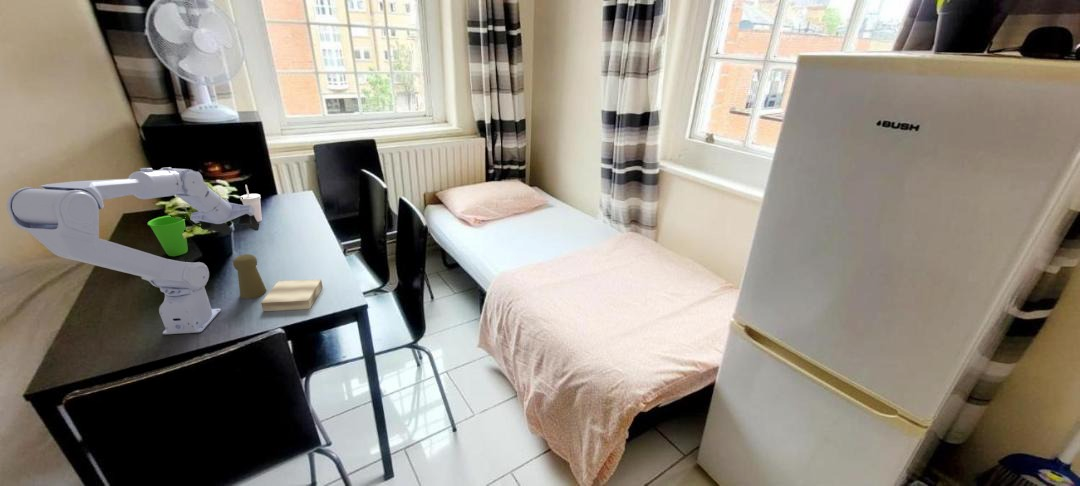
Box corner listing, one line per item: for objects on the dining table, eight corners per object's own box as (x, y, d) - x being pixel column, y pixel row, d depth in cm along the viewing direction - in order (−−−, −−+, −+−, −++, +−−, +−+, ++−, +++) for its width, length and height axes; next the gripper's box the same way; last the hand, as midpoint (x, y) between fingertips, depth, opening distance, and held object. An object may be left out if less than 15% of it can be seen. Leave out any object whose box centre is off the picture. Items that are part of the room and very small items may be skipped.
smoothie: (241, 222, 159) (232, 186, 153) (257, 216, 165) (248, 181, 159) (255, 224, 158) (246, 188, 152) (270, 219, 163) (261, 183, 157)
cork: (254, 300, 112) (244, 263, 108) (234, 297, 113) (223, 260, 109) (271, 289, 118) (262, 253, 113) (252, 286, 119) (243, 250, 114)
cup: (158, 251, 135) (147, 218, 131) (194, 244, 141) (184, 213, 136) (159, 261, 129) (147, 228, 125) (196, 254, 135) (186, 221, 130)
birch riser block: (310, 308, 110) (308, 300, 109) (263, 311, 108) (260, 302, 107) (322, 287, 119) (321, 279, 118) (279, 289, 118) (277, 281, 117)
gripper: (241, 185, 107) (272, 213, 119) (181, 193, 106) (218, 220, 118) (236, 209, 104) (268, 235, 116) (174, 217, 103) (213, 242, 115)
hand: (243, 229), depth 117 cm, fingers open, 7 cm apart
